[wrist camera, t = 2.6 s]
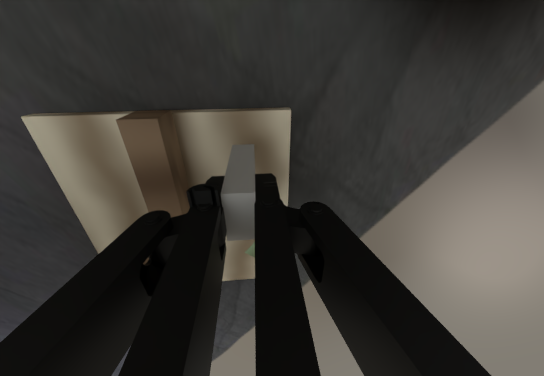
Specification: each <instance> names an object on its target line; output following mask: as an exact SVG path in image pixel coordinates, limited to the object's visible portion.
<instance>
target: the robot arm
mask: <svg viewBox="0 0 544 376" xmlns="http://www.w3.org/2000/svg"><path fill="white" fill-rule="evenodd" d="M186 193H187V198H188V202H189V206H190V208H189V211H188V213H186V214H183V215H179V216H175V217H171V215H170V213H169V212H167V211H164V210H156V211H151V212H149V213H146V214H144V215H142V216H141V217H140V218H138V219H137V220H136V221H135V222H134V223H133V224H132V225H130V226H129V227H128V228H127V229H126V230H125V231H124V232H123V233H122V234H120V235H119V236H118V237H117V238H116V239H115V240H114V241H113V242H112V243H110V244H109V245H108V246H107V247H106V248H105V249H104V250H103V251H102V252H100V253H99V254H98V255H97V256H96V257H95V258H94V259H93V260H92V261H90V262H89V263H88V264H87V265H86V266H85V267H84V268H83V269H82V270H80V271H79V272H78V273H77V274H76V275H75V276H74V277H73V278H72V279H70V280H69V281H68V282H67V283H66V284H65V285H64V286H63V287H62V288H60V289H59V290H58V291H57V292H56V293H55V294H54V295H53V296H52V297H50V298H49V299H48V300H47V301H46V302H45V303H44V304H43V305H42V306H40V307H39V308H38V309H37V310H36V311H35V312H34V313H33V314H32V315H30V316H29V317H28V318H27V319H26V320H25V321H24V322H23V323H21V324H20V325H19V326H18V327H17V328H16V329H15V330H14V331H13V332H11V333H10V334H9V335H8V336H7V337H6V338H5V339H4V340H3V341H1V342H0V376H111V375H112V374H113V372H114V370H115V369H116V367H117V366H118V364H119V363H120V361H121V360H122V358H123V356H124V355H125V353H126V352H127V350H128V349H129V347H130V345H131V344H132V345H131V347H130V350H129V352H128V354H127V357H126V359H125V361H124V364H123V366H122V368H121V371H120V373H119V376H209V375H210V367H211V361H212V353H213V346H214V338H215V331H216V323H217V316H218V308H219V301H220V294H221V286H222V279H223V271H224V264H225V256H226V242H225V240H226V235H227V241H236V240H253V239H255V334H256V376H321V375H320V370H319V366H318V361H317V357H316V352H315V347H314V343H313V338H312V334H311V329H310V324H309V320H308V315H307V311H306V306H305V301H304V297H303V292H302V287H301V282H300V278H299V273H298V268H297V264H296V259H295V255H294V253H297V255H298V258H299V259H300V261H301V263H302V265H303V267H304V268H305V270H306V272H307V274H308V276H309V277H310V279H311V281H312V283H313V285H314V286H315V288H316V290H317V292H318V294H319V295H320V297H321V299H322V301H323V302H324V304H325V306H326V308H327V310H328V312H329V313H330V315H331V317H332V319H333V320H334V322H335V324H336V326H337V327H338V329H339V331H340V333H341V335H342V337H343V338H344V340H345V342H346V344H347V346H348V347H349V349H350V351H351V353H352V354H353V356H354V358H355V360H356V362H357V364H358V365H359V367H360V369H361V371H362V372H363V374H364V376H491V375H490V374H489V373H488V372H487V371H486V370H485V369H484V368H483V367H482V366H481V365H480V364H479V363H478V361H477V360H476V359H475V358H474V357H473V356H472V355H471V354H470V353H469V352H468V351H467V350H466V349H465V348H464V347H463V346H462V345H461V344H460V343H459V342H458V341H457V340H456V339H455V338H454V336H453V335H451V333H450V332H449V331H448V330H447V329H446V328H445V327H444V326H443V325H442V324H441V323H440V322H439V321H438V320H437V319H436V318H435V317H434V316H433V315H432V314H431V313H430V312H429V311H428V309H426V307H425V306H424V305H423V304H422V303H421V302H420V301H419V300H418V299H417V298H416V297H415V296H414V295H413V294H412V293H411V292H410V291H409V290H408V289H407V288H406V287H405V286H404V285H403V284H402V283H401V281H400V280H399V279H398V278H397V277H396V276H395V275H394V274H393V273H392V272H391V271H390V270H389V269H388V268H387V267H386V266H385V265H384V264H383V263H382V262H381V261H380V260H379V259H378V258H377V257H376V256H375V254H374V253H373V252H372V251H371V250H370V249H369V248H368V247H367V246H366V245H365V244H364V243H363V242H362V241H361V240H360V239H359V238H358V237H357V236H356V235H355V234H354V233H353V232H352V231H351V230H350V229H349V227H348V226H347V225H346V224H345V223H344V222H343V221H342V220H341V219H340V218H339V217H338V216H337V215H336V214H335V213H334V212H333V211H332V210H331V209H330V208H329V207H328V206H327V205H325V204H323V203H320V202H307V203H304V204H303V205H302V206H301V208H300V209H295V208H290V207H288V206H286V205H284V204H283V201H282V200H281V199H280V195H279V190H278V185H277V180H276V177H275V176H274V175H273V174H272V173H265V174H255V154H254V144H245V145H232V149H231V153H230V157H229V161H228V165H227V169H226V173H225V176H212V177H210V178H209V179H208V180H207V181H206V184H198V185H195V186H192V187H191V188H189V189H188V190H187V191H186ZM147 258H149V260H148V262H147V263H146V264H143V263H144V262H145V260H146V259H147ZM132 342H133V343H132Z"/></svg>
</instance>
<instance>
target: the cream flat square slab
mask: <svg viewBox="0 0 544 376" xmlns="http://www.w3.org/2000/svg"><path fill="white" fill-rule="evenodd" d="M132 112H135V111H121V112H80V113H39V114H30V115H26V116H22V117H21V118H22V120H23V122H24V124H25V125H26V127H27V129H28V131H29V132H30V134H31V136H32V138H33V139H34V141H35V143H36V145H37V146H38V148H39V150H40V152H41V153H42V155H43V157H44V159H45V161H46V162H47V164H48V166H49V168H50V169H51V171H52V173H53V175H54V176H55V178H56V180H57V182H58V183H59V185H60V187H61V189H62V190H63V192H64V194H65V196H66V198H67V199H68V201H69V203H70V205H71V206H72V208H73V210H74V212H75V213H76V215H77V217H78V219H79V220H80V222H81V224H82V226H83V228H84V229H85V231H86V233H87V235H88V236H89V238H90V240H91V242H92V243H93V245H94V247H95V249H96V250H97V252H98V254H99V253H100V252H102V251H103V250H104V249H105V248H106V247H107V246H108V245H109V244H110V243H112V242H113V241H114V240H115V239H116V238H117V237H118V236H119V235H120V234H122V233H123V232H124V231H125V230H126V229H127V228H128V227H129V226H130V225H132V224H133V223H134V222H135V221H136V220H137V219H138V218H140V217H141V216H142V215H144V214H146V213H149V212H148V209H147V206H146V203H145V201H144V198H143V195H142V192H141V189H140V187H139V184H138V181H137V178H136V175H135V173H134V170H133V167H132V164H131V161H130V159H129V156H128V153H127V150H126V148H125V145H124V142H123V139H122V136H121V134H120V131H119V128H118V125H117V122H116V119H119V118H121V117H123V116H125V115H128V114H130V113H132ZM171 112H172V116H173V121H174V125H175V129H176V134H177V138H178V143H179V147H180V151H181V156H182V160H183V164H184V169H185V173H186V178H187V182H188V186H189V188H191V187H192V186H195V185H198V184H206V181H207V180H208V179H209V178H210V177H212V176H225V173H226V169H227V165H228V161H229V157H230V153H231V149H232V145H245V144H254V154H255V174H265V173H272V174H273V175H274V176H275V177H276V180H277V185H278V190H279V195H280V199H281V200H282V201H283V204H284V205H286V206H288V186H289V158H290V130H291V109H290V108H289V107H285V108H244V109H203V110H171ZM225 242H226V256H225V264H224V271H223V279H222V281H228V280H241V279H253V278H255V239H253V240H236V241H227V235H226V240H225Z"/></svg>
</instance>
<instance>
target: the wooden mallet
mask: <svg viewBox="0 0 544 376" xmlns="http://www.w3.org/2000/svg"><path fill="white" fill-rule="evenodd" d="M116 122H117V125H118V128H119V131H120V134H121V136H122V139H123V142H124V145H125V148H126V150H127V153H128V156H129V159H130V161H131V164H132V167H133V170H134V173H135V175H136V178H137V181H138V184H139V187H140V189H141V192H142V195H143V198H144V201H145V203H146V206H147V209H148V212H151V211H156V210H164V211H167V212H169V213H170V215H171V217H175V216H179V215H183V214H186V213H188V211H189V208H190V206H189V202H188V198H187V193H186V191H187V190H188V189H189V186H188V182H187V178H186V173H185V169H184V164H183V160H182V156H181V151H180V147H179V143H178V138H177V134H176V129H175V125H174V121H173V116H172V112H171V110H150V111H135V112H132V113H130V114H128V115H125V116H123V117H121V118H119V119H116ZM148 260H149V258H147V259H146V260H145V262H144V263H143V264H146V263H147V262H148Z"/></svg>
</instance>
